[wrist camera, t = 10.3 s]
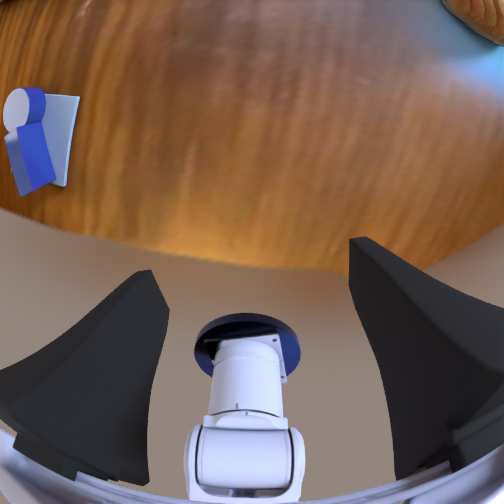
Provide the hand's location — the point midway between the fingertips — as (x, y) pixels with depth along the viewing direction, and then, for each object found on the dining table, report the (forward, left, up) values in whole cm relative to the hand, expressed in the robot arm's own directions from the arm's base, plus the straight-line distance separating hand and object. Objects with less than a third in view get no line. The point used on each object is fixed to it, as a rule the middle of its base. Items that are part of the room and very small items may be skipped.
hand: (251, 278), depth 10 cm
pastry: (+15, -22, -10) cm, 28 cm away
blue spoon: (+9, +15, -9) cm, 20 cm away
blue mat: (+9, +15, -9) cm, 20 cm away
